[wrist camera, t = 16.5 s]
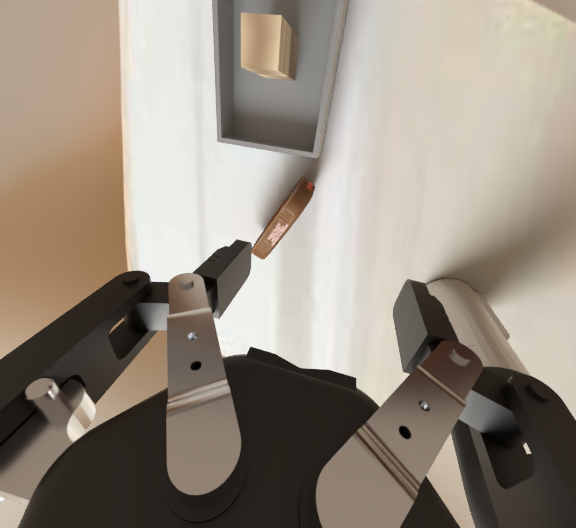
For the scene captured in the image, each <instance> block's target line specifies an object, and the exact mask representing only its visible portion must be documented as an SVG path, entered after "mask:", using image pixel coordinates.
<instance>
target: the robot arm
mask: <svg viewBox="0 0 576 528" xmlns="http://www.w3.org/2000/svg"><path fill="white" fill-rule="evenodd" d="M251 250H252V245H251V243H250V242H246V241H241V240H236V241H235V242H234V243H233V244H232V245H231V246H230V247H227V246H225V247H223V248H220V249H218V250H217V251H216V252H214V253H213V254H212V256H210V257H209V258H208V260H206V261H205V262H204V263H203V264H202V265H201V266H200V267H198V268H197V269H196V270H195V271H194V272H193V273H185V274H180V275H177V276H175V277H174V278H172V279H171V280H170V282H151V280H150V276H149V274H148V273H146V272H143V271H129V272H125V273H122V274H120V275H118V276H116V277H115V278H114V279H112V280H111V281H109V282H108V283H107V284H105V285H104V286H102V287H101V288H100V289H98V290H97V291H95V292H94V293H93V294H91V295H90V296H88V297H87V298H86V299H84V300H83V301H81V302H80V303H79V304H77V305H76V306H74V307H73V308H72V309H70V310H69V311H67V312H66V313H65V314H63V315H62V316H60V317H59V318H58V319H56V320H55V321H54V322H52V323H51V324H49V325H48V326H47V327H45V328H44V329H42V330H41V331H40V332H38V333H37V334H35V335H34V336H33V337H31V338H30V339H28V340H27V341H26V342H24V343H23V344H22V345H20V346H19V347H17V348H16V349H14V350H13V351H12V352H10V353H9V354H7V355H6V356H5V357H3V358H2V359H0V501H2V500H5V499H8V500H11V501H14V502H18V503H20V504H24V505H27V508H26V510H25V513H24V515H23V518H22V520H21V522H20V524H19V526H18V528H460V527H459V525H458V524H457V522H456V521H455V519H454V518H453V516H452V514H451V513H450V511H449V510H448V508H447V507H446V505H445V504H444V503H443V501H442V500H441V498H440V496H439V495H438V494H437V492H436V490H435V489H434V487H433V486H432V484H431V483H430V481H429V480H428V479H427V477H426V474H427V473H428V471H429V469H430V467H431V466H432V464H433V462H434V460H435V459H436V457H437V455H438V453H439V452H440V450H441V448H442V446H443V445H444V443H445V441H446V440H447V438H448V436H449V434H450V433H451V435H452V439H453V443H454V447H455V451H456V455H457V459H458V464H459V468H460V473H461V477H462V481H463V485H464V489H465V493H466V497H467V501H468V504H469V508H470V512H471V515H472V518H473V521H474V524H475V527H476V528H576V420H575V419H574V417H573V416H572V414H571V413H570V411H569V410H568V408H567V407H566V405H565V404H564V402H563V401H562V399H561V398H560V397H559V396H558V395H557V394H556V393H555V392H554V391H553V390H552V389H551V388H550V387H549V386H547V385H546V384H544V383H543V382H541V381H540V380H538V379H536V378H534V377H532V376H530V374H529V373H528V371H527V370H526V368H525V367H524V365H523V364H522V362H521V361H520V359H519V358H518V356H517V355H516V353H515V352H514V350H513V349H512V347H511V346H510V344H509V343H508V342H507V340H508V339H509V337H510V335H509V333H508V332H507V330H506V329H505V327H504V326H503V325H502V323H501V322H500V320H499V319H498V317H497V316H496V315H495V313H494V312H493V310H492V309H491V308H490V306H489V305H488V303H487V302H486V300H485V299H484V298H483V296H482V295H481V293H477V292H475V291H474V290H473V289H472V288H471V287H470V286H469V285H468V284H466V283H464V282H462V281H460V280H455V279H440V280H436V281H433V282H431V283H428V284H427V285H426V284H425V283H422V282H418V281H414V280H409V279H408V280H407V281H406V282H405V284H404V286H403V288H402V290H401V292H400V294H399V296H398V298H397V300H396V302H395V305H394V308H393V318H394V324H395V329H396V335H397V340H398V346H399V351H400V357H401V362H402V368H403V372H405V373H409V374H410V375H409V376H408V377H407V378H406V379H405V380H404V381H403V383H402V384H401V385H400V386H399V387H398V388H397V389H396V390H395V391H394V392H393V394H392V395H391V396H390V397H389V398H388V399H387V400H386V401H385V402H384V403H383V405H382V406H381V407H379V406H378V405H377V404H376V403H375V402H374V401H373V400H372V399H371V398H370V397H369V396H368V395H367V394H365V393H364V392H362V391H361V390H359V389H358V388H356V378H354V377H351V376H348V375H344V374H341V373H337V372H334V371H331V370H320V369H303V368H299V367H297V366H295V365H293V364H292V363H290V362H288V361H286V360H285V359H283V358H281V357H279V356H278V355H276V354H273V353H270V352H266V351H263V350H260V349H256V348H253V347H250V349H249V351H248V353H247V355H245V354H242V355H233V356H228V357H225V358H222V355H221V351H220V346H219V342H218V337H217V333H216V328H215V323H214V319H213V317H214V318H218V319H220V317H221V316H222V314H223V313H224V311H225V310H226V308H227V307H228V306H229V304H230V303H231V301H232V300H233V298H234V297H235V295H236V294H237V292H238V291H239V290H240V288H241V287H242V285H243V284H244V282H245V281H246V279H247V278H248V276H249V273H250V269H251ZM122 318H124V321H123V322H122V323H121V324H120V325H119V326H118V327H116V328H115V329H114V330H113V331H112V332H111V333H110V331H111V329H112V328H113V326H114V325H116V324H117V323H118V322H119V321H120V320H121V319H122ZM158 330H167V359H168V360H167V361H168V362H167V363H168V388H166V389H164V390H162V391H160V392H159V393H157V394H155V395H153V396H151V397H150V398H148V399H146V400H144V401H142V402H141V403H139V404H137V405H135V406H133V407H131V408H130V409H128V410H126V411H124V412H122V413H120V414H119V415H117V416H115V417H113V418H111V419H109V420H108V421H106V422H104V423H102V424H100V425H98V426H97V427H95V428H93V429H92V430H90V431H88V427H89V426H90V424H91V423H92V421H93V419H94V416H95V412H96V408H95V404H96V403H97V401H98V400H99V399H100V398H101V397H102V396H103V395H104V393H105V392H106V391H107V390H108V389H109V387H110V386H111V385H112V384H113V383H114V381H115V380H116V379H117V378H118V377H119V376H120V375H121V373H122V372H123V371H124V370H125V369H126V367H127V366H128V365H129V364H130V363H131V362H132V360H133V359H134V358H135V357H136V356H137V355H138V353H139V352H140V351H141V350H142V349H143V347H144V346H145V345H146V344H147V343H148V342H149V340H150V339H151V338H152V337H153V336H154V335H155V333H156V332H157V331H158ZM109 333H110V334H109ZM525 443H527V445H528V447H529V449H530V451H531V453H532V454H526V451H525V449H524V447H523V445H524V444H525Z"/></svg>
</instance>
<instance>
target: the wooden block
mask: <svg viewBox="0 0 576 528" xmlns="http://www.w3.org/2000/svg"><path fill="white" fill-rule="evenodd" d="M298 47H299V38H298V37H297V35H296V34H295V33H294V31H293V30H292V29H291V27H290V26H289V25H288V23H287V22H286V21H285V19H284V18H283V16H282V15H271V14H255V13H241V67H242V68H244V69H247V70H249V71H251V72H253V73H256V74H258V75H260V76H262V77H265V78H271V79H281V80H290V81H295V78H296V68H297V57H298Z"/></svg>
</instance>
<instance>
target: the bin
mask: <svg viewBox="0 0 576 528" xmlns="http://www.w3.org/2000/svg"><path fill="white" fill-rule="evenodd" d="M348 3H349V0H212V8H213V35H214V61H215V87H216V114H217V140H218V142H222V143H228V144H234V145H240V146H245V147H251V148H257V149H263V150H269V151H275V152H281V153H287V154H293V155H298V156H304V157H310V158H316V159H317V158H318V157H319V156H320V155H321V154H322V148H323V143H324V137H325V131H326V126H327V120H328V115H329V109H330V104H331V98H332V92H333V87H334V81H335V76H336V70H337V65H338V59H339V53H340V48H341V42H342V37H343V31H344V26H345V20H346V15H347V9H348ZM241 13H255V14H271V15H282V16H283V18H284V19H285V21H286V22H287V23H288V25H289V26H290V27H291V29H292V30H293V31H294V33H295V34H296V35H297V37H298V38H299V47H298V57H297V68H296V78H295V81H290V80H281V79H271V78H265V77H262V76H260V75H258V74H256V73H253V72H251V71H249V70H247V69H244V68H242V67H241Z"/></svg>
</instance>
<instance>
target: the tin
mask: <svg viewBox="0 0 576 528" xmlns="http://www.w3.org/2000/svg"><path fill="white" fill-rule="evenodd" d="M314 189H315V186H314V185H313V184H312V183H311V182H309V181H308V180H307V179H306V178H305V177H304V176H303V177H302V178H301V179H300V180H299V182H298V183H297V184H296V186H295V187H294V189H293V190H292V191H291V193H290V194H289V196H288V197H287V198H286V200H285V201H284V202H283V204H282V205H281V207H280V208H279V209H278V211H277V212H276V214H275V215H274V216H273V218H272V219H271V221H270V222H269V223H268V225H267V226H266V228H265V229H264V231H263V232H262V234H261V235H260V237H259V238H258V240H257V241H256V243H255V244H254V246H253V247H252V250H251V253H253V254H254V255H256V256H257V257H259V258H260V259H265V258H266V257H267V256H268V255H269V254H270V252H271V251H272V250H273V249H274V248H275V246H276V245H277V244H278V243H279V241H280V240H281V239H282V238H283V236H284V235H285V234H286V232H287V231H288V230H289V229H290V227H291V226H292V225H293V223H294V222H295V221H296V220H297V218H298V217H299V216H300V214H301V213H302V211H303V210H304V209H305V207H306V206H307V204H308V203H309V201H310V199H311V197H312V195H313V191H314Z"/></svg>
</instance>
